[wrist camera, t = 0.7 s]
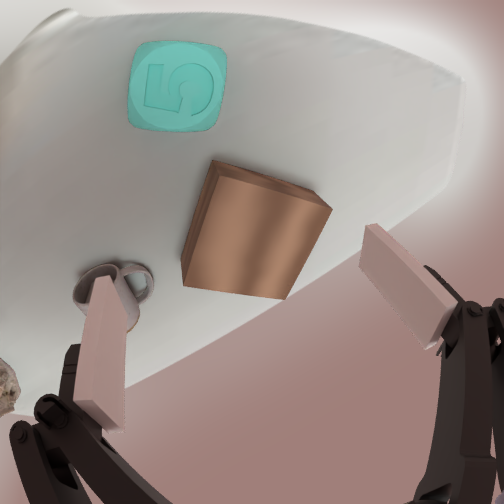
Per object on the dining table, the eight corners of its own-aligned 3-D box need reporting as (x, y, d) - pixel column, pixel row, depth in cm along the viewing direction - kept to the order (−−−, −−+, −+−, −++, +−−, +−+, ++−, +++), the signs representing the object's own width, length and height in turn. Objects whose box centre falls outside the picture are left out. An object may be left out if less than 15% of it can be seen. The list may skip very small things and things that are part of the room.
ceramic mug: (104, 311, 41) (100, 348, 35) (77, 273, 36) (66, 309, 30) (162, 291, 42) (165, 328, 36) (139, 248, 37) (136, 283, 31)
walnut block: (180, 257, 40) (183, 285, 35) (212, 159, 33) (219, 175, 29) (272, 273, 45) (285, 299, 40) (312, 190, 39) (332, 209, 34)
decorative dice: (143, 49, 24) (134, 39, 18) (218, 53, 26) (232, 46, 20) (135, 118, 28) (124, 131, 22) (207, 121, 31) (217, 134, 24)
